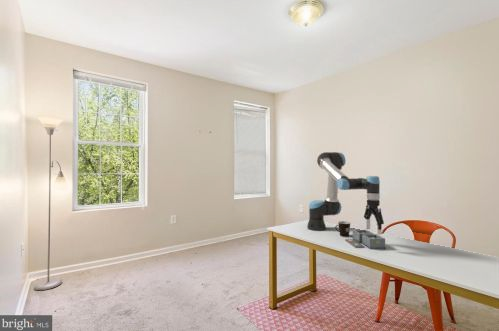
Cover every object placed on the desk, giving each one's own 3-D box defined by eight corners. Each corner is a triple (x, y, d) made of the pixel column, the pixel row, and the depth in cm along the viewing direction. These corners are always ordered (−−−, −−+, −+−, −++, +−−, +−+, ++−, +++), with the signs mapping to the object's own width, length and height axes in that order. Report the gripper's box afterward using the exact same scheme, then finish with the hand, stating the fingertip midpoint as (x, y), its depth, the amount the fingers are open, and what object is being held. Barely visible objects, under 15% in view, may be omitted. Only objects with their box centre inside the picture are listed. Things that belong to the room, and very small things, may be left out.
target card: (345, 240, 180) (345, 239, 180) (353, 240, 180) (353, 238, 180) (355, 247, 164) (355, 246, 164) (364, 247, 164) (364, 246, 164)
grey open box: (362, 244, 172) (362, 234, 171) (376, 243, 172) (376, 234, 172) (370, 249, 161) (370, 239, 161) (385, 248, 162) (385, 238, 162)
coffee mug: (348, 234, 196) (348, 221, 196) (351, 237, 187) (351, 223, 187) (333, 233, 197) (333, 221, 197) (335, 237, 189) (335, 223, 188)
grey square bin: (352, 238, 183) (352, 230, 183) (366, 238, 184) (366, 229, 184) (359, 243, 173) (359, 233, 173) (373, 243, 174) (373, 233, 174)
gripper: (358, 197, 179) (358, 227, 179) (378, 202, 154) (378, 237, 154) (368, 196, 179) (369, 226, 179) (390, 202, 154) (390, 236, 154)
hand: (373, 231), depth 167 cm, fingers open, 13 cm apart
